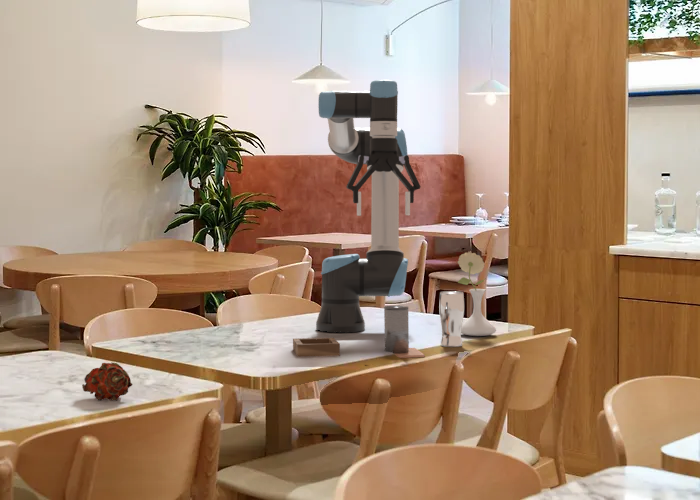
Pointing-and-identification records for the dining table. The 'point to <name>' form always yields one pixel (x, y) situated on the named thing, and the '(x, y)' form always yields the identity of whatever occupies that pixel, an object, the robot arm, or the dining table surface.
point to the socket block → (316, 347)
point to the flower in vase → (474, 297)
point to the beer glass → (451, 317)
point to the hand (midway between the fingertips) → (383, 215)
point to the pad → (410, 353)
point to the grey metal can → (396, 329)
